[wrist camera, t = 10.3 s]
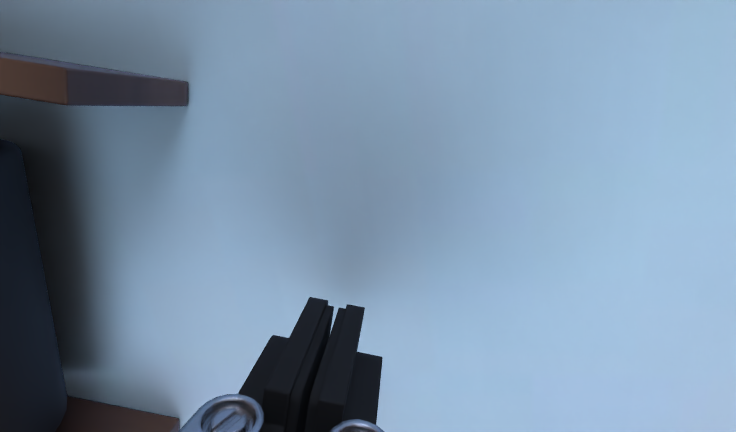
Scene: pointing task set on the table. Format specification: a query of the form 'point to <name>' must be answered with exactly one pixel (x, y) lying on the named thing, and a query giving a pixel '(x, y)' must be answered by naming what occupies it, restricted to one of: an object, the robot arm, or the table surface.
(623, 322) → the table surface
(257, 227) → the table surface
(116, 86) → the wooden u-shaped shelf
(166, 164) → the table surface
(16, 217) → the end cap
